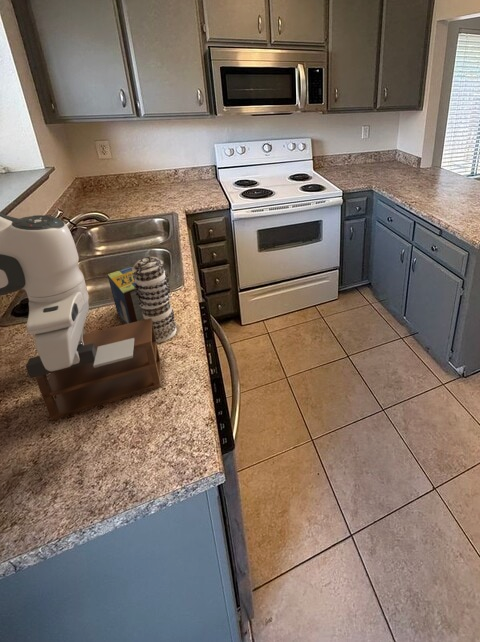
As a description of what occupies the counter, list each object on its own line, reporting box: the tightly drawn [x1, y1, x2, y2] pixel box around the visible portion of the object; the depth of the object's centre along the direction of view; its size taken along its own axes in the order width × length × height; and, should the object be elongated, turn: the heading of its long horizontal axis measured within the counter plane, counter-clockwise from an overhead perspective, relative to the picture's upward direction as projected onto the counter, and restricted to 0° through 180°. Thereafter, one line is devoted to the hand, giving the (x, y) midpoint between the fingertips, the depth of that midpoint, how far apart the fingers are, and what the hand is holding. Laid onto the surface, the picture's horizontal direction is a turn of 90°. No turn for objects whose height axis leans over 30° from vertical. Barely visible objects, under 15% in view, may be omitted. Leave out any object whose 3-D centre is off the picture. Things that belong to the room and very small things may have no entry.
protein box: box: [107, 265, 143, 325], centre depth 114 cm, size 10×15×16 cm
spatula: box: [25, 338, 134, 379], centre depth 73 cm, size 18×6×3 cm, turn 114°
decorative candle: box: [132, 256, 177, 344], centre depth 105 cm, size 9×9×25 cm
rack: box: [34, 318, 162, 421], centre depth 87 cm, size 23×10×14 cm, turn 114°
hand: (77, 355), depth 73 cm, fingers closed on spatula, 2 cm apart
